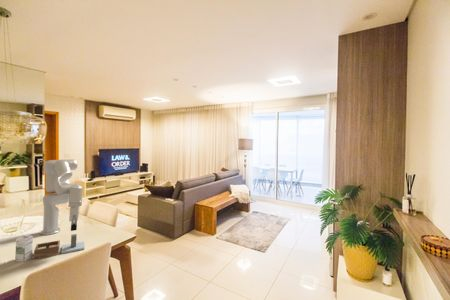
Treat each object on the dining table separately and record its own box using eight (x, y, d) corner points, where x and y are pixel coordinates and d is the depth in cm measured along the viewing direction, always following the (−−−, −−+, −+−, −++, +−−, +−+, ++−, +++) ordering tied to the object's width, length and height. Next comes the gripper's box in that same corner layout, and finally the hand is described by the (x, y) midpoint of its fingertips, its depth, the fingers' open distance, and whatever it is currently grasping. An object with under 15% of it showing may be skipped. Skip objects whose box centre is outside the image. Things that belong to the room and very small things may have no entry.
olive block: (37, 254, 137) (37, 248, 137) (45, 252, 140) (45, 246, 140) (38, 256, 134) (38, 250, 134) (46, 254, 137) (46, 248, 137)
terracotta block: (48, 251, 141) (49, 245, 141) (56, 250, 143) (56, 244, 143) (48, 254, 138) (48, 248, 137) (56, 252, 140) (56, 247, 140)
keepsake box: (36, 253, 139) (36, 244, 139) (59, 248, 146) (59, 240, 146) (33, 260, 131) (34, 250, 131) (58, 255, 138) (58, 246, 138)
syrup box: (32, 257, 134) (33, 235, 134) (24, 262, 128) (25, 239, 128) (23, 257, 134) (24, 234, 134) (14, 262, 128) (15, 239, 128)
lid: (62, 248, 148) (63, 234, 147) (83, 244, 155) (84, 230, 155) (61, 255, 139) (62, 239, 139) (84, 250, 146) (84, 236, 146)
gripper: (69, 200, 151) (67, 224, 152) (67, 207, 137) (66, 233, 138) (81, 199, 156) (80, 222, 156) (81, 206, 142) (80, 231, 142)
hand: (73, 227), depth 147 cm, fingers open, 9 cm apart
